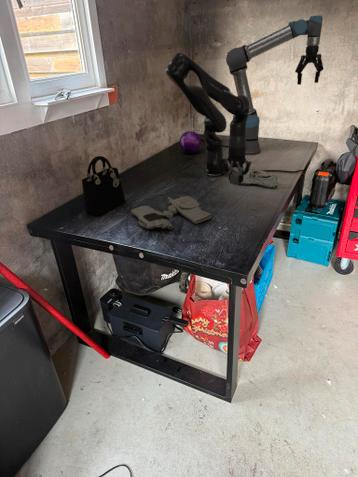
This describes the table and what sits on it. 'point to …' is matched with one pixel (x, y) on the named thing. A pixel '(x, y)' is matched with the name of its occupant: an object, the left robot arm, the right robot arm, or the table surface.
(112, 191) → the handbag
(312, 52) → the right robot arm
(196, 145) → the decorative orb
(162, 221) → the pair of gloves
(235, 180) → the metal block
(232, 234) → the table surface
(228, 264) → the table surface
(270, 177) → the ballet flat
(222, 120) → the left robot arm
